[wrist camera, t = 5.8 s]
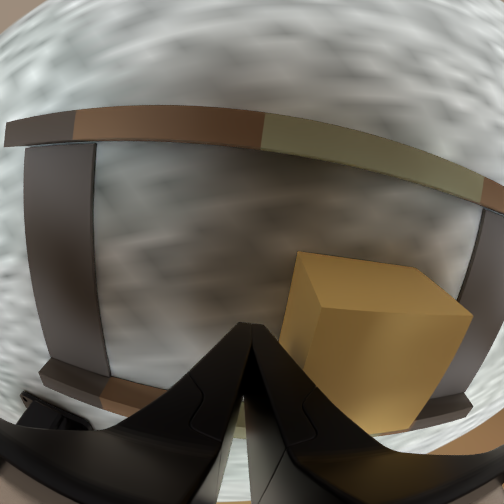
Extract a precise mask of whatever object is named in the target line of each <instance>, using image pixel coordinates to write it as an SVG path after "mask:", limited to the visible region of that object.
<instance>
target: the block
mask: <svg viewBox="0 0 504 504" xmlns="http://www.w3.org/2000/svg"><path fill="white" fill-rule="evenodd" d="M472 318H473V315H472V314H471V313H470V312H469V311H468V310H467V309H465V308H464V307H463V306H462V305H461V304H460V303H458V302H457V301H456V300H455V299H454V298H453V297H451V296H450V295H449V294H448V293H447V292H445V291H444V290H443V289H442V288H440V287H439V286H438V285H437V284H435V283H434V282H433V281H432V280H430V279H429V278H428V277H427V276H425V275H424V274H423V273H422V272H420V271H419V270H418V269H416V268H414V267H407V266H400V265H393V264H386V263H379V262H372V261H365V260H358V259H351V258H344V257H336V256H329V255H322V254H315V253H307V252H300V251H298V252H297V257H296V262H295V267H294V272H293V277H292V282H291V287H290V292H289V297H288V301H287V306H286V311H285V315H284V320H283V324H282V329H281V333H280V338H279V343H280V344H281V346H282V347H283V348H284V349H285V350H286V351H287V353H288V354H289V355H290V356H291V357H292V358H293V359H294V361H295V362H296V363H297V364H298V365H299V366H300V368H301V369H302V370H303V371H304V372H305V373H306V374H307V375H308V377H309V378H310V379H311V380H312V381H313V382H314V383H315V385H316V387H318V388H319V389H320V390H321V391H322V392H323V393H324V394H325V395H326V396H327V398H328V399H329V400H330V401H331V402H332V403H333V404H334V405H335V406H336V407H337V408H339V409H340V410H341V411H342V412H343V413H344V414H345V415H346V416H347V417H349V418H350V419H351V420H352V421H353V422H355V423H356V424H357V425H358V426H359V427H361V428H362V429H363V430H364V431H365V432H367V433H368V434H377V433H384V432H391V431H397V430H403V429H408V428H409V427H410V425H411V424H412V423H413V421H414V420H415V419H416V417H417V416H418V414H419V413H420V412H421V410H422V409H423V407H424V406H425V404H426V403H427V401H428V400H429V398H430V397H431V395H432V394H433V392H434V391H435V389H436V387H437V386H438V384H439V382H440V381H441V379H442V377H443V376H444V374H445V372H446V370H447V369H448V367H449V365H450V363H451V361H452V360H453V358H454V356H455V354H456V352H457V350H458V348H459V346H460V344H461V342H462V340H463V338H464V336H465V334H466V332H467V330H468V327H469V325H470V323H471V321H472Z"/></svg>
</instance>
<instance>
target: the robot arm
mask: <svg viewBox="0 0 504 504" xmlns="http://www.w3.org/2000/svg"><path fill="white" fill-rule="evenodd" d="M243 395H244V411H245V426H246V440H247V454H248V467H249V479H250V492H251V504H504V489H503V486H502V484H503V483H504V445H502V446H500V447H498V448H496V449H494V450H492V451H489V452H486V453H481V454H475V455H427V454H413V453H403V452H398V451H394V450H391V449H389V448H387V447H385V446H383V445H382V444H381V443H379V442H378V441H377V440H375V439H374V438H373V437H372V436H370V435H369V434H368V433H367V432H365V431H364V430H363V429H362V428H361V427H359V426H358V425H357V424H356V423H355V422H353V421H352V420H351V419H350V418H349V417H347V416H346V415H345V414H344V413H343V412H342V411H341V410H340V409H339V408H337V407H336V406H335V405H334V404H333V403H332V402H331V401H330V400H329V399H328V398H327V396H326V395H325V394H324V393H323V392H322V391H321V390H320V389H319V388H318V387H316V385H315V383H314V382H313V381H312V380H311V379H310V378H309V377H308V375H307V374H306V373H305V372H304V371H303V370H302V369H301V368H300V366H299V365H298V364H297V363H296V362H295V361H294V359H293V358H292V357H291V356H290V355H289V354H288V353H287V351H286V350H285V349H284V348H283V347H282V346H281V344H280V343H279V342H278V341H277V340H276V338H275V337H274V336H273V335H272V334H271V333H270V331H269V330H268V329H267V328H266V327H265V326H264V325H261V324H251V323H244V322H238V323H237V324H236V325H235V326H234V327H233V328H232V329H231V330H230V331H229V332H228V333H227V334H226V335H225V336H224V337H223V338H222V339H221V340H220V341H219V342H218V343H217V344H216V345H215V346H214V347H213V348H212V349H211V350H210V351H209V352H208V353H207V354H206V355H205V356H204V357H203V358H202V359H201V360H200V361H199V362H198V363H197V364H196V365H195V366H194V367H193V368H192V369H191V370H190V371H189V372H188V373H187V374H185V375H184V376H183V377H182V378H181V379H180V380H179V381H178V382H177V383H176V384H174V385H173V386H172V387H171V388H170V389H169V390H167V391H166V392H165V393H163V394H162V395H161V396H159V397H158V398H157V399H155V400H154V401H152V402H151V403H149V404H148V405H146V406H145V407H143V408H142V409H140V410H139V411H137V412H136V413H134V414H133V415H131V416H129V417H128V418H126V419H125V420H123V421H122V422H120V423H118V424H116V425H114V426H112V427H110V428H107V429H103V430H96V431H93V430H92V427H91V425H90V424H89V423H88V422H87V421H86V420H84V419H81V418H79V417H77V416H74V415H72V414H69V413H67V412H65V411H63V410H60V409H58V408H56V407H54V406H52V405H50V404H48V403H46V402H44V401H42V400H40V399H38V398H36V397H34V396H32V395H30V394H28V393H26V392H24V391H23V392H22V393H21V394H20V397H21V399H22V401H23V402H24V404H25V406H26V408H27V409H26V411H25V412H24V413H23V415H22V416H21V418H20V419H19V420H18V422H17V423H16V424H12V423H10V422H7V421H5V420H3V419H1V418H0V504H216V502H217V498H218V494H219V491H220V487H221V483H222V479H223V475H224V472H225V468H226V464H227V460H228V456H229V452H230V448H231V444H232V440H233V436H234V432H235V428H236V424H237V420H238V416H239V412H240V407H241V403H242V399H243Z"/></svg>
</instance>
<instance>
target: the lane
mask: <svg viewBox="0 0 504 504" xmlns="http://www.w3.org/2000/svg"><path fill="white" fill-rule="evenodd" d="M85 141H160V142H180V143H195V144H208V145H219V146H229V147H238V148H246V149H254V150H262V151H269V152H276V153H282V154H289V155H295V156H300V157H306V158H312V159H317V160H322V161H327V162H332V163H337V164H342V165H346V166H351V167H355V168H360V169H364V170H368V171H372V172H376V173H380V174H384V175H388V176H391V177H395V178H399V179H402V180H406V181H409V182H413V183H416V184H420V185H423V186H426V187H429V188H432V189H436V190H439V191H442V192H445V193H448V194H451V195H454V196H456V197H459V198H462V199H465V200H468V201H470V202H473V203H476V204H478V205H481V206H483V207H486V208H488V209H491V210H493V211H496V212H498V213H501V214H503V215H504V186H502V185H500V184H498V183H496V182H494V181H492V180H490V179H488V178H486V177H484V176H482V175H480V174H478V173H476V172H474V171H471V170H469V169H467V168H465V167H462V166H460V165H458V164H455V163H453V162H450V161H448V160H446V159H443V158H441V157H438V156H435V155H433V154H430V153H427V152H425V151H422V150H419V149H416V148H413V147H410V146H408V145H405V144H401V143H398V142H395V141H392V140H389V139H385V138H382V137H379V136H375V135H372V134H368V133H364V132H361V131H357V130H353V129H349V128H345V127H341V126H336V125H332V124H327V123H323V122H318V121H313V120H308V119H303V118H297V117H291V116H285V115H279V114H272V113H265V112H258V111H249V110H240V109H230V108H218V107H203V106H180V105H139V106H116V107H102V108H91V109H81V110H73V111H65V112H58V113H52V114H46V115H40V116H34V117H29V118H24V119H20V120H15V121H11V122H7V123H6V130H5V140H4V147H14V146H31V145H41V144H52V143H66V142H85ZM95 154H96V144H71V145H55V146H42V147H32V148H25V159H24V220H25V234H26V245H27V254H28V261H29V268H30V275H31V281H32V286H33V292H34V297H35V301H36V306H37V310H38V315H39V319H40V323H41V327H42V330H43V334H44V337H45V341H46V344H47V348H48V351H49V354H50V357H51V358H50V359H49V361H48V362H47V363H46V364H45V365H44V366H43V368H42V369H41V370H40V371H39V372H38V373H39V375H40V377H41V380H42V382H43V385H44V386H46V387H48V388H51V389H53V390H55V391H57V392H59V393H62V394H64V395H67V396H69V397H71V398H74V399H76V400H79V401H81V402H84V403H87V404H89V405H92V406H95V407H98V408H101V409H104V410H107V411H110V412H113V413H116V414H119V415H122V416H126V417H129V416H131V415H133V414H134V413H136V412H137V411H139V410H140V409H142V408H143V407H145V406H146V405H148V404H149V403H151V402H152V401H154V400H155V399H157V398H158V397H159V396H161V395H162V394H163V393H165V392H166V391H167V390H163V389H159V388H154V387H150V386H146V385H142V384H138V383H134V382H130V381H126V380H123V379H119V378H115V377H112V376H111V373H110V369H109V364H108V359H107V354H106V349H105V344H104V338H103V332H102V326H101V320H100V313H99V305H98V297H97V287H96V277H95V264H94V246H93V184H94V166H95ZM457 302H458V303H460V304H461V305H462V306H463V307H464V308H465V309H467V310H468V311H469V312H470V313H471V314H472V315H473V318H472V321H471V323H470V325H469V327H468V330H467V332H466V334H465V336H464V338H463V340H462V342H461V344H460V346H459V348H458V350H457V352H456V354H455V356H454V358H453V360H452V361H451V363H450V365H449V367H448V369H447V370H446V372H445V374H444V376H443V377H442V379H441V381H440V382H439V384H438V386H437V387H436V389H435V391H434V392H433V394H432V395H431V397H430V398H429V400H428V401H427V403H426V404H425V406H424V407H423V409H422V410H421V412H420V413H419V414H418V416H417V417H416V419H415V420H414V421H413V423H412V424H411V425H410V427H409V428H408V429H403V430H397V431H391V432H384V433H377V434H369V435H370V436H372V437H377V436H384V435H391V434H397V433H402V432H408V431H413V430H418V429H423V428H427V427H431V426H436V425H440V424H443V423H447V422H451V421H454V420H458V419H461V418H465V417H466V416H467V414H468V413H469V412H470V410H471V409H472V408H473V405H472V404H471V402H470V401H469V399H468V398H467V396H466V395H465V394H464V392H465V391H466V389H467V388H468V386H469V385H470V383H471V382H472V380H473V378H474V377H475V375H476V373H477V372H478V370H479V368H480V367H481V365H482V363H483V361H484V359H485V358H486V356H487V354H488V352H489V350H490V348H491V346H492V344H493V342H494V340H495V338H496V336H497V334H498V332H499V330H500V328H501V326H502V323H503V321H504V217H503V216H500V215H498V214H496V213H493V212H491V211H488V210H485V209H483V214H482V219H481V223H480V228H479V232H478V236H477V240H476V244H475V248H474V251H473V255H472V258H471V262H470V265H469V268H468V271H467V274H466V277H465V280H464V283H463V286H462V289H461V292H460V294H459V297H458V300H457ZM233 438H239V439H246V426H245V411H244V402H242V403H241V407H240V412H239V416H238V420H237V424H236V428H235V432H234V436H233Z"/></svg>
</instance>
